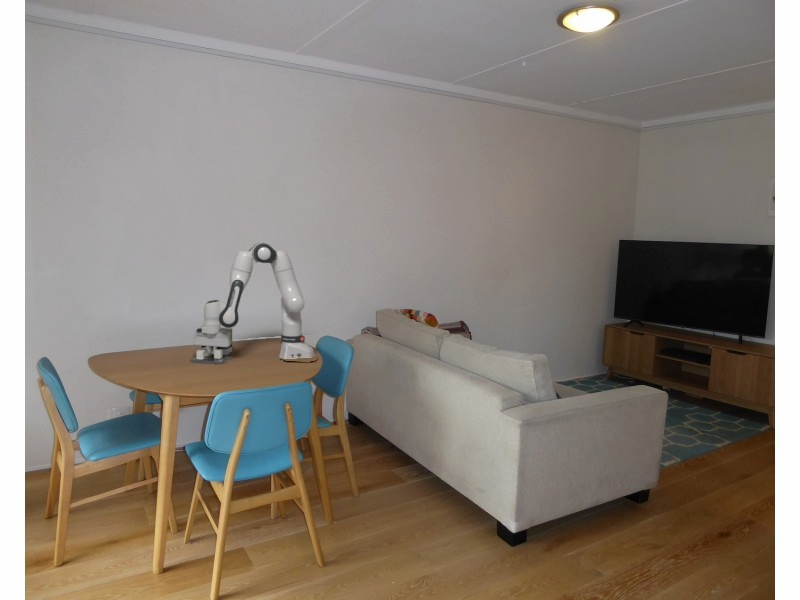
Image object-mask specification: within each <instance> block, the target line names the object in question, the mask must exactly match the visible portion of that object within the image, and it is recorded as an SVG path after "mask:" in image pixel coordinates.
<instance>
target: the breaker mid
mask: <svg viewBox="0 0 800 600" xmlns="http://www.w3.org/2000/svg"><path fill="white" fill-rule="evenodd" d="M222 351H223V350H221V349H216V350H214V354H213V355H214V358H217V359H221V358H222V356H223V355H222Z"/></svg>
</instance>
